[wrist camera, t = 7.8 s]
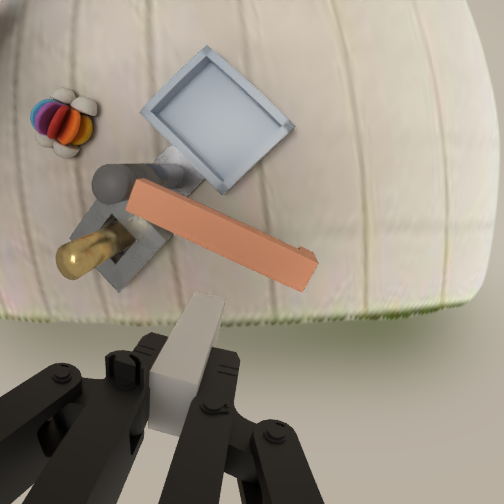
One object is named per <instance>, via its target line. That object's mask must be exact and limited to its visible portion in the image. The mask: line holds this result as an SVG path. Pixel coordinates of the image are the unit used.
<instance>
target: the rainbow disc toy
mask: <svg viewBox="0 0 504 504" xmlns="http://www.w3.org/2000/svg"><path fill="white" fill-rule="evenodd" d="M50 97H51V98H53V100H52V99H46V100H43V101H40V102H39V103H38V104H36V105H35V107H34V108H33V110H32V112H31V116H30V119H31V123H32V126H33V127H34V128H35V130H36V133H35V137H36V141H37V142H38V144H39V145H41V146H43V147H48V148H49V147H52V146H53V148H54V151H55V153H56V154H57V155H58V156H60V157H62V158H71V157H73V156H75V155H76V154H77V153H78V152H79V150H80V149H79V147H78V146H77V145H80V144H83V143H85V142H86V141H87V140H88V139H89V138H90V136H91V134H92V128H93V126H92V121H91V119H90V117H89V116H87V115H85V114H88V115H91V116H96V114H97V104H96V102H95V101H94V100H92V99H90V98H87V97H85V96H80V97H78V98H76V96H75V94H74V92H73V91H71V90H69V89H66V88H63V87H61V88H58V89H56V90H55V91H54V92H53V93H52V94H51V95H50ZM69 105H70V106H71V108H70V106H69ZM83 113H85V114H83Z"/></svg>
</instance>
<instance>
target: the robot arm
mask: <svg viewBox="0 0 504 504" xmlns="http://www.w3.org/2000/svg"><path fill="white" fill-rule="evenodd" d="M225 300H226V298H224V297H220V296H216V295H211V294H207V293H203V292H198V291H195V292H194V294H193V295H192V297H191V299H190V301H189V302H188V304H187V306H186V308H185V309H184V311H183V313H182V315H181V316H180V318H179V320H178V322H177V323H176V325H175V327H174V329H173V331H172V333H171V334H170V336H169V337H167V336H164V335H160V334H156V333H153V332H151V333H149V334H147V335H145V336H143V337H142V339H141V340H140V341H139V343H138V345H137V346H136V347H135V348H134V350H133V351H132V352H131V351H125V350H121V351H120V350H119V351H114V352H111V353H109V354H108V355H106V356H105V362H106V363H105V365H106V377H105V379H90V378H83V377H82V376H81V373H80V371H79V370H78V369H77V368H76V367H75V366H73V365H71V364H67V363H56V364H53V365H50V366H48V367H47V368H45V369H44V370H42V371H41V372H39V373H38V374H36V375H34V376H33V377H31V378H29V379H28V380H26V381H25V382H23V383H22V384H20V385H19V386H17V387H15V388H14V389H12V390H11V391H9V392H8V393H6V394H4V395H3V396H1V397H0V504H11V503H12V502H13V501H14V500H15V499H17V498H18V497H19V496H20V495H21V494H23V493H24V492H25V491H26V490H27V489H28V488H29V487H30V486H32V485H33V484H34V485H33V487H32V488H31V490H30V491H29V493H28V495H27V496H26V498H25V500H24V501H23V503H22V504H116V503H117V501H118V498H119V496H120V494H121V491H122V489H123V486H124V484H125V482H126V479H127V477H128V474H129V472H130V470H131V467H132V465H133V462H134V460H135V458H136V455H137V453H138V451H139V448H140V446H141V444H142V441H143V439H144V428H145V426H146V423H147V421H148V428H150V429H153V430H156V431H160V432H163V433H167V434H170V435H174V436H178V437H180V438H179V441H178V444H177V447H176V450H175V453H174V456H173V459H172V462H171V465H170V469H169V472H168V475H167V478H166V481H165V484H164V487H163V491H162V494H161V497H160V500H159V503H158V504H219V498H220V492H221V486H222V479H223V474H224V472H225V473H227V474H229V475H232V476H234V477H236V478H237V482H238V487H239V492H240V497H241V502H242V504H324V502H323V499H322V497H321V494H320V492H319V489H318V487H317V484H316V482H315V480H314V477H313V475H312V472H311V470H310V467H309V465H308V462H307V459H306V457H305V454H304V452H303V449H302V447H301V444H300V442H299V439H298V437H297V434H296V433H295V431H294V429H293V428H292V427H290V426H289V425H288V424H287V423H284V422H282V421H279V420H272V419H269V420H263V421H261V422H259V423H257V424H256V423H254V422H251V421H249V420H247V419H245V418H243V417H242V416H241V415H240V414H239V413H238V412H237V411H236V409H235V406H234V397H235V391H236V384H237V378H238V371H239V366H240V359H239V357H238V355H237V353H236V352H233V351H228V350H224V349H219V348H216V345H217V340H218V335H219V330H220V325H221V320H222V315H223V310H224V305H225Z"/></svg>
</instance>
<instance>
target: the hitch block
mask: <svg viewBox="0 0 504 504" xmlns="http://www.w3.org/2000/svg"><path fill="white" fill-rule="evenodd" d="M128 201H129V200H127V201H123V202H119V203H116V204H112V205H106V204H103V203H101V202H99V201H98V200H96V202H95V203H94V204H93V206H92V207H91V208H90V210H89V211H88V212H87V214H86V215H85V217H84V218H83V219H82V221H81V222H80V224H79V225H78V226H77V228H76V229H75V231H74V232H73V234H72V235H71V237H70V238H69V239H70V240H71V241H73V240H76V239H78V238H80V237H83V236H85V235H87V234H90V233H92V232H95V231H97V230H99V229H102V228H104V227H107V226H109V225H110V224H111V223H112V222H113V220H114V219H115V218H117V220H118V221H119V222H120V223H121V224H122V225H123V226H124V227H125V228H126V229H127V230H128V231H129V232H130V233H131V235H132V236H133V237H134V238H135V239H136V241H135V242H134V243H133V245H132V246H131V247H130V248H129V249H128V250H127V252H126V253H125V254H124V255H122V254H121V253H120V252H119V253H118V254H116V255H114V256H113V257H111V258H110V259H108V260H106V261H105V262H103V263H102V264H100V265H98V266H97V267H95V268H96V269H97V270H98V271H99V272H100V273H101V274H102V275H103V277H104V278H105V279H106V280H107V281H108V282H109V283H110V284H111V285H112V286H113V287H114V288H115V289H116V290H117V291H118V292H120V291H121V290H122V289H124V288H125V287H126V286H127V285H128V284H129V283H130V282H131V281H132V280H133V278H134V277H135V276H136V275H137V274H138V273H139V272H140V271H141V270H142V268H143V267H144V266H145V265H146V264H147V263H148V262H149V261H150V260H151V259H152V258H153V256H154V255H155V254H156V253H157V252H158V251H159V250H160V249H161V248H162V247H163V246H164V245H165V243H166V242H167V241H168V240H169V239H170V238H171V237H172V236H173V234H172V233H171V232H170V231H168V230H166V229H164V228H162V227H160V226H158V225H155V224H153V223H151V222H149V221H147V220H145V219H143V218H141V217H139V216H137V215H134V214H132V213H130V212H128V211H126V210H125V209H126V207H127V204H128Z"/></svg>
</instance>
